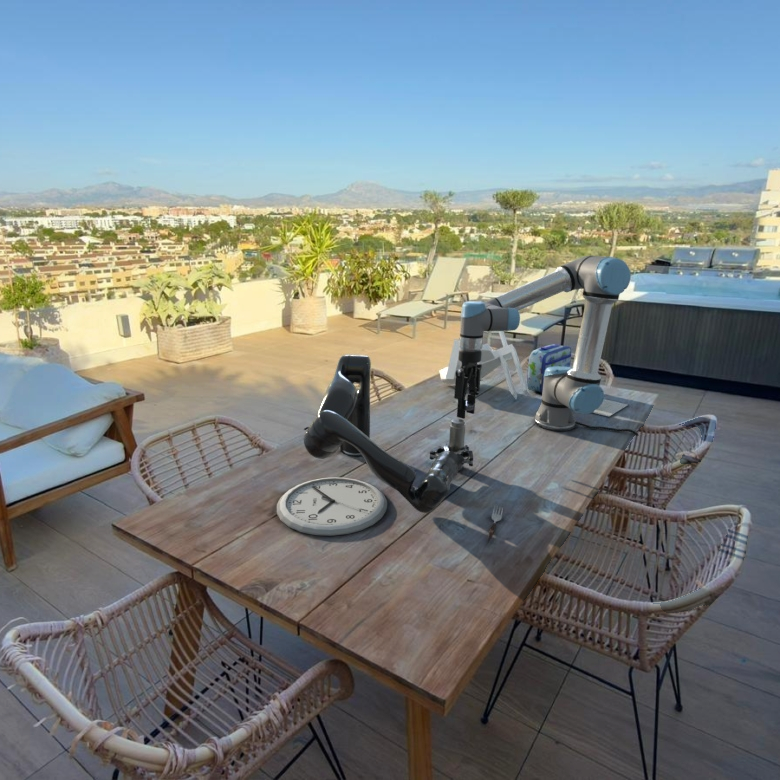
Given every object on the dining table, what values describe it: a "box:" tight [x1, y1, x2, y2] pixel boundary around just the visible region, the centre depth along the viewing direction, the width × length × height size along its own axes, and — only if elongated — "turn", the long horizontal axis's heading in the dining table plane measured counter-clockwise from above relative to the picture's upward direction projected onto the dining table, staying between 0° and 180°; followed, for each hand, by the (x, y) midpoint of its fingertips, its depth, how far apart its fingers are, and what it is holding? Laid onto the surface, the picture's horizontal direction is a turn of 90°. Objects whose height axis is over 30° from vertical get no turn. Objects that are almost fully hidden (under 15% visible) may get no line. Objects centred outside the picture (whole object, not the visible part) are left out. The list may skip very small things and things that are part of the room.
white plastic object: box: [438, 331, 531, 400], centre depth 245 cm, size 37×45×31 cm
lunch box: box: [526, 343, 572, 394], centre depth 247 cm, size 26×11×21 cm, turn 134°
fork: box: [487, 505, 504, 543], centre depth 133 cm, size 3×16×2 cm, turn 160°
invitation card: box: [591, 398, 629, 418], centre depth 226 cm, size 21×1×15 cm
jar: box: [448, 418, 466, 471], centre depth 164 cm, size 5×5×16 cm
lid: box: [456, 400, 476, 412], centre depth 178 cm, size 6×6×2 cm
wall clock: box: [276, 476, 388, 537], centre depth 142 cm, size 30×2×30 cm
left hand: (458, 446), depth 167 cm, fingers closed on jar, 4 cm apart
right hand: (465, 415), depth 179 cm, fingers closed on lid, 6 cm apart
